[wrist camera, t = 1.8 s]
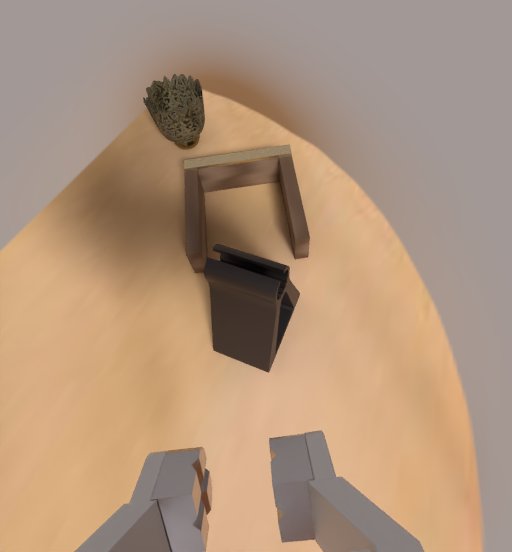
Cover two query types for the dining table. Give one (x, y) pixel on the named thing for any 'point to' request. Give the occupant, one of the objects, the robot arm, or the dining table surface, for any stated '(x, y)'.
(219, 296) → the phone stand
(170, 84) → the cup
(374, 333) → the dining table surface
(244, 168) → the frame
